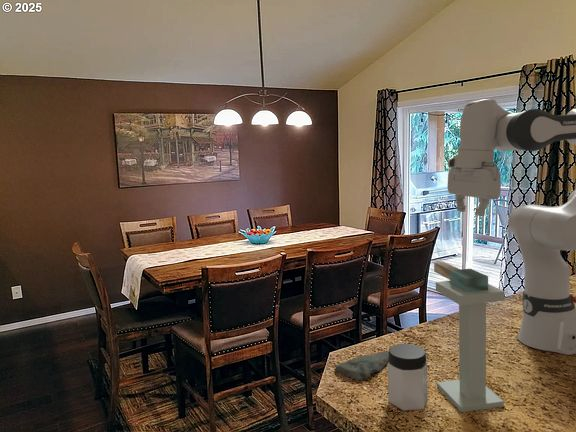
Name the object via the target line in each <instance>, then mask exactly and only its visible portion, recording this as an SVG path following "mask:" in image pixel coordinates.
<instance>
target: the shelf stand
mask: <svg viewBox="0 0 576 432" xmlns="http://www.w3.org/2000/svg"><path fill="white" fill-rule="evenodd" d="M435 291H436V292H438V293H440V294H441V295H443V296H444V297H446V298H448V299H449V300H451V301H452V302H454V303H456V304H458V332H459V334H458V338H459V339H458V341H459V342H458V346H459V347H458V348H459V349H458V351H459V353H458V355H459V357H458V358H459V359H458V360H459V366H458V367H459V369H458V370H459V377H458V378H459V379H453V380H452V379H451V380H445V381H437V382H436V388H438V390H439V391H440V392H441V393H442V394H443V395H444V397H446V398H447V399H448V400H449V402H451V404H454V405H455V406H456V407H457V408H456V407H455V406H454V405H453V406H454V407H455V408H456V409H457V410H458V411H459V412H460V413H467V412H466V411H468V412H473V411H480V410H488V409H495V408H502V407H504V406H505V401H504V400H503V399H502V398H500V397H499V396H498V394H496V393H495V392H494V391H493V390H492V389H490V388H489V387H488V386H487V378H486V377H487V341H486V340H487V303H495V302H505V299H506V297H505V294H506V293H505V292H506V291H504V290H503V289H500V288H498V287H496V286H494V285H491V284H489V283H488V290H483V291H473V292H465V291H463V290H461V289H460V288H458V287H456V286H454V285H452V284H450V280H442V281H435Z"/></svg>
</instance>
